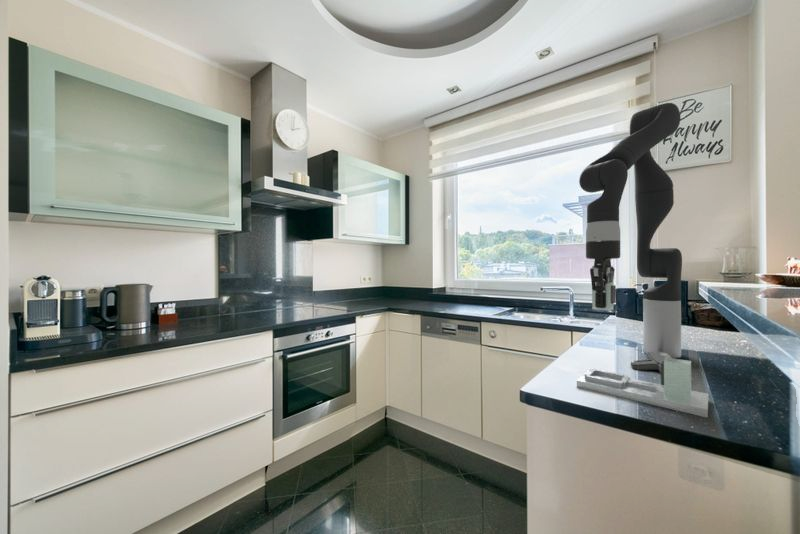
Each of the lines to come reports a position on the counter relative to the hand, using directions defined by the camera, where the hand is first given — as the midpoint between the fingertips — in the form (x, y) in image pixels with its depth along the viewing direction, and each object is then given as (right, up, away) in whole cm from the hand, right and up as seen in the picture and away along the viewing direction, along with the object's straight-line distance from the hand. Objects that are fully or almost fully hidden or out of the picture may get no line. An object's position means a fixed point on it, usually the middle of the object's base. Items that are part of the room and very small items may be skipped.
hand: (602, 306), depth 82 cm
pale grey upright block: (0, -1, 0) cm, 1 cm away
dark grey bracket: (+17, -18, +5) cm, 25 cm away
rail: (0, -18, -12) cm, 21 cm away
